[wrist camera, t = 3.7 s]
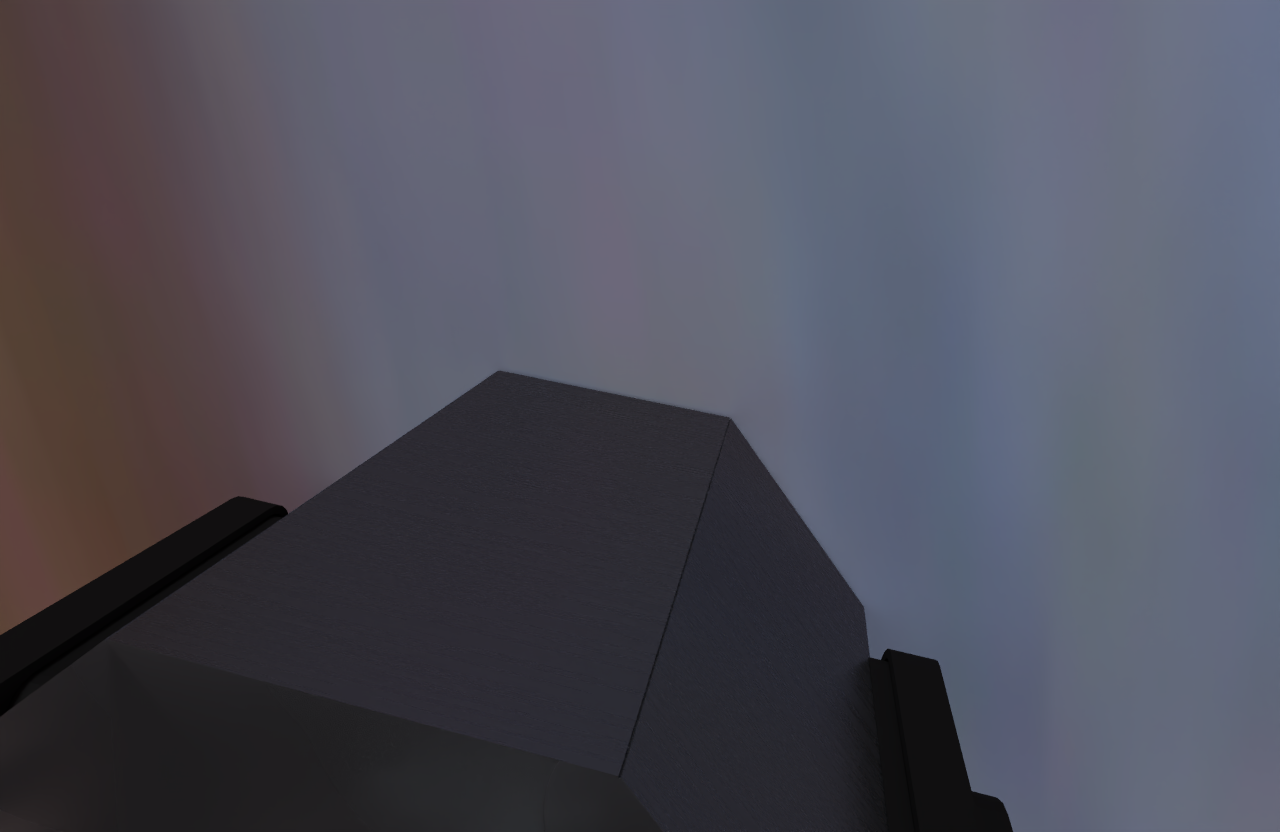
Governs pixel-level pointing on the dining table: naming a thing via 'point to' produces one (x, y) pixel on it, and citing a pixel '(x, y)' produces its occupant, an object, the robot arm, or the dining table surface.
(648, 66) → the dining table surface
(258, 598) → the ring
